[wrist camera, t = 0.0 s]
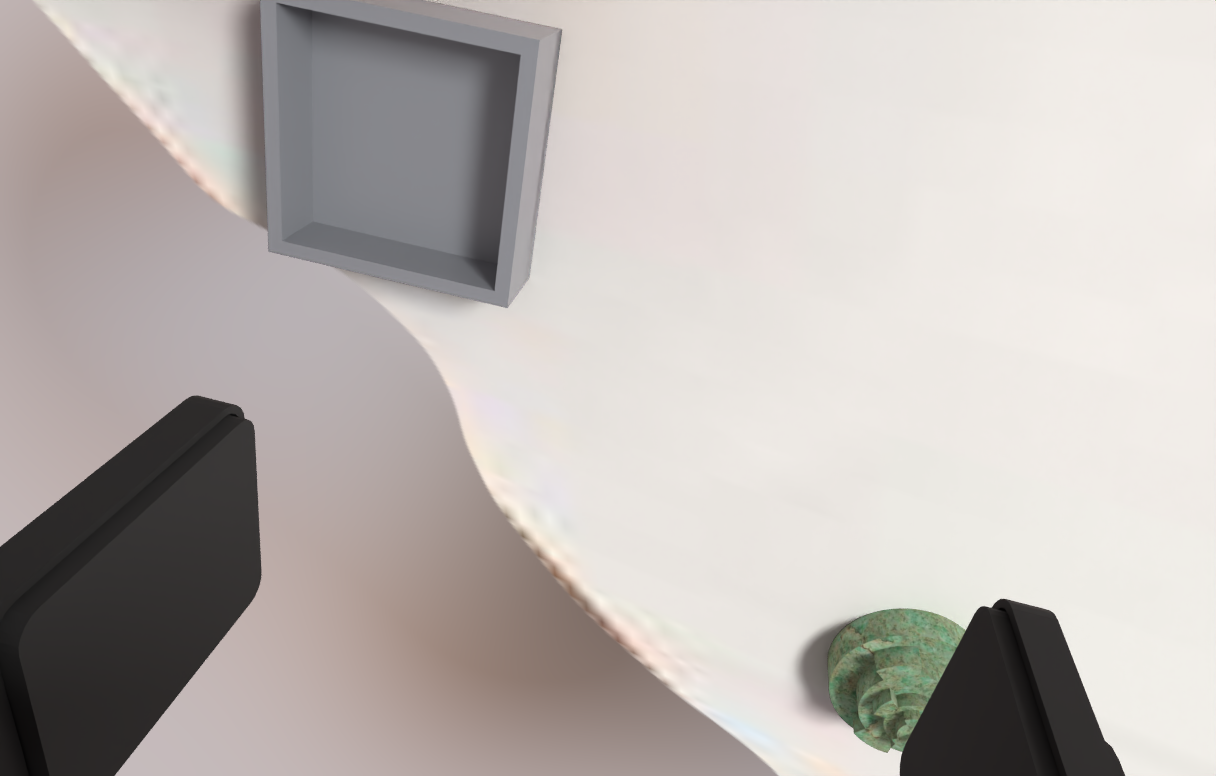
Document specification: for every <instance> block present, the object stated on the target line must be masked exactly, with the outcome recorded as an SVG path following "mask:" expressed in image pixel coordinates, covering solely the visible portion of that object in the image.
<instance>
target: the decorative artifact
mask: <svg viewBox="0 0 1216 776" xmlns="http://www.w3.org/2000/svg"><path fill="white" fill-rule="evenodd" d="M964 633H965V630H964V629H963V628H962V627H960V626H959V625H958V624H956V623H955V622H953V621H951V620H949V619H947V618H945V617H943V616H940V615H938V614H935V613H931V612H927V611H923V610H917V609H889V610H882V611H877V612H874V613H870V614H868V615H865V616H862V617H860V618H858V619H856V620H855V621H853V622H851V623H850V624H848V625H847V626H846V627H845V628H843V629H842V630H841V631H840V632H839V633H838V635H837V636H836V637H835V639H834V640H833V642H832V644H831V646H830V649H829V652H828V659H827V661H828V680H829V694H830V699H831V702H832V704H833V706H834V708H835V710H836V711H837V713H838V714H839V715H840V717H841V718H842V719H843V720H844V721H845V722H846V723H847V724H848V725H850V726H851V727H852V728H853V729H854V734H855V735H856V736H857V737H858V738H860V739H861V740H862V741H863V742H865V743H866V744H868V745H870V746H871V747H873V748H875V749H878V750H880V751H883V752H886V753H888V751H889V750H890V748H892V749H895V750H898V751H902V752H903V749H904V746H905V744H906V742H907V740H908V738H909V737H910V735H911V733H912V731H913V729H914V727H915V725H916V723H917V722H918V720H919V718H920V716H921V714H922V712H923V710H924V708H925V706H926V705H927V703H928V701H929V699H930V697H931V695H932V693H933V691H934V690H935V688H936V686H937V684H938V682H939V680H940V678H941V676H942V674H943V673H944V671H945V669H946V667H947V665H948V663H949V661H950V659H951V658H952V656H953V654H954V652H955V650H956V648H957V646H958V644H959V642H960V641H961V639H962V637H963V635H964Z"/></svg>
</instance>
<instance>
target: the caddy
mask: <svg viewBox="0 0 1216 776" xmlns="http://www.w3.org/2000/svg"><path fill="white" fill-rule="evenodd" d="M260 17H261V46H262V75H263V105H264V134H265V163H266V193H267V222H268V249H269V252H273V253H277V254H281V255H286V256H290V257H294V258H298V259H302V260H307V261H311V262H315V263H320V264H324V265H328V266H332V267H336V268H340V269H345V270H349V271H353V272H357V273H362V274H366V275H370V276H374V277H378V278H383V279H387V280H391V281H395V282H400V283H404V284H408V285H412V286H416V287H421V288H425V289H429V290H433V291H437V292H442V293H446V294H450V295H454V296H459V297H463V298H467V299H471V300H475V301H480V302H484V303H488V304H492V305H497V306H501V307H505V308H508V307H509V305H510V304H511V302H512V301H513V300H514V298H515V297H516V296H517V294H518V293H519V291H520V290H521V289H522V287H523V286H524V284H525V283H526V282H527V280H528V279H529V277H530V269H531V261H532V254H533V246H534V239H535V231H536V224H537V216H538V209H539V201H540V193H541V186H542V178H543V171H544V163H545V156H546V148H547V140H548V133H549V125H550V118H551V110H552V103H553V95H554V88H555V80H556V72H557V65H558V57H559V50H560V42H561V35H562V29H558V28H554V27H549V26H544V25H539V24H535V23H530V22H525V21H520V20H516V19H511V18H506V17H501V16H497V15H492V14H487V13H482V12H478V11H473V10H468V9H463V8H459V7H454V6H449V5H444V4H440V3H435V2H430V1H425V0H260Z"/></svg>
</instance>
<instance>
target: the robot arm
mask: <svg viewBox="0 0 1216 776" xmlns="http://www.w3.org/2000/svg"><path fill="white" fill-rule="evenodd" d="M255 451H256V450H255V431H254V425H253V424H252V422H251V421H249V420H247V419H245V418H244V413H243V411H242V409H241V408H240V407H238V406H237V405H233V404H229V403H225V402H221V401H217V400H213V399H209V398H205V397H201V396H191V397H189V398H188V399H186V400H185V401H183V402H182V403H181V404H179V405H178V406H177V407H176V408H175V409H173V410H172V411H171V412H169V413H168V414H167V415H166V416H164V417H163V418H162V419H161V420H159V421H158V422H157V423H156V424H154V425H153V426H152V427H150V428H149V429H148V430H147V431H145V432H144V433H143V434H142V435H140V436H139V437H138V438H137V439H135V440H134V441H133V442H132V443H130V444H129V445H128V446H127V447H125V448H124V449H123V450H121V451H120V452H119V453H118V454H116V455H115V456H114V457H113V458H112V459H110V460H109V461H108V462H106V463H105V464H104V465H103V466H101V467H100V468H99V469H98V470H96V471H95V472H94V473H93V474H91V475H90V476H89V477H87V478H86V479H85V480H84V481H83V482H81V483H80V484H79V485H77V486H76V487H75V488H74V489H72V490H71V491H70V492H69V493H67V494H66V495H65V496H64V497H62V498H61V499H60V500H59V501H57V502H56V503H55V504H54V505H52V506H51V507H50V508H49V509H47V510H46V511H45V512H43V513H42V514H41V515H40V516H38V517H37V518H36V519H35V520H33V521H32V522H31V523H30V524H28V525H27V526H26V527H25V528H23V529H22V530H21V531H19V532H18V533H17V534H16V535H14V536H13V537H12V538H11V539H9V540H8V541H7V542H6V543H4V544H3V545H2V546H1V547H0V776H115V774H116V773H117V772H118V771H119V769H120V768H121V767H122V765H123V764H124V763H125V762H126V760H127V759H128V758H129V757H130V755H131V754H132V753H133V752H134V750H135V749H136V748H137V746H138V745H139V744H140V742H141V741H142V740H143V739H144V738H145V736H146V735H147V734H148V732H149V731H150V730H151V729H152V727H153V726H154V725H155V724H156V722H157V721H158V720H159V718H160V717H161V716H162V714H163V713H164V712H165V711H166V710H167V708H168V707H169V706H170V705H171V703H172V702H173V701H174V699H175V698H176V697H177V696H178V694H179V693H180V692H181V691H182V689H183V688H184V687H185V686H186V684H187V683H188V682H189V680H190V679H191V678H192V677H193V675H194V674H195V673H196V671H197V670H198V669H199V668H200V666H201V665H202V664H203V662H204V661H205V660H206V659H207V658H208V656H209V655H210V653H211V652H212V651H213V650H214V649H215V647H216V646H217V645H218V644H219V642H220V641H221V640H222V639H223V637H224V636H225V635H226V633H227V632H228V631H229V630H230V628H231V627H232V626H233V625H234V623H235V622H236V621H237V619H238V618H239V617H240V616H241V614H242V613H243V612H244V610H245V609H246V608H247V607H248V606H249V604H250V603H251V602H252V600H253V598H254V597H255V595H256V592H257V590H258V588H259V585H260V580H261V555H260V533H259V513H258V493H257V471H256V452H255ZM900 776H1125V774H1124V772H1123V769H1122V766H1121V764H1120V761H1119V759H1118V757H1117V756H1116V754H1115V752H1114V750H1113V748H1112V747H1111V746H1110V745H1109V744H1108V743H1107V742H1106V741H1105V740H1104V738H1103V735H1102V733H1101V730H1100V728H1099V725H1098V722H1097V720H1096V717H1095V715H1094V712H1093V710H1092V707H1091V704H1090V702H1089V699H1088V697H1087V694H1086V691H1085V689H1084V686H1083V684H1082V681H1081V679H1080V676H1079V673H1078V671H1077V668H1076V666H1075V663H1074V661H1073V658H1072V655H1071V653H1070V650H1069V648H1068V645H1067V642H1066V640H1065V637H1064V635H1063V632H1062V630H1061V627H1060V624H1059V622H1058V620H1057V618H1056V616H1055V614H1054V613H1053V612H1051V611H1050V610H1046V609H1043V608H1039V607H1035V606H1031V605H1027V604H1023V603H1019V602H1015V601H1011V600H1007V599H1000V600H998V601H997V602H996V603H995V604H994V605H993V607H992V608H989V607H985V606H982V607H980V608H979V609H978V610H977V611H976V613H975V614H974V616H973V618H972V620H971V622H970V624H969V626H968V627H967V629H966V631H965V633H964V635H963V637H962V639H961V641H960V642H959V644H958V646H957V648H956V650H955V652H954V654H953V656H952V658H951V659H950V661H949V663H948V665H947V667H946V669H945V671H944V673H943V674H942V676H941V678H940V680H939V682H938V684H937V686H936V688H935V690H934V691H933V693H932V695H931V697H930V699H929V701H928V703H927V705H926V706H925V708H924V710H923V712H922V714H921V716H920V718H919V720H918V722H917V723H916V725H915V727H914V729H913V731H912V733H911V735H910V737H909V738H908V740H907V742H906V744H905V746H904V749H903V752H902V756H901V762H900Z"/></svg>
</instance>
